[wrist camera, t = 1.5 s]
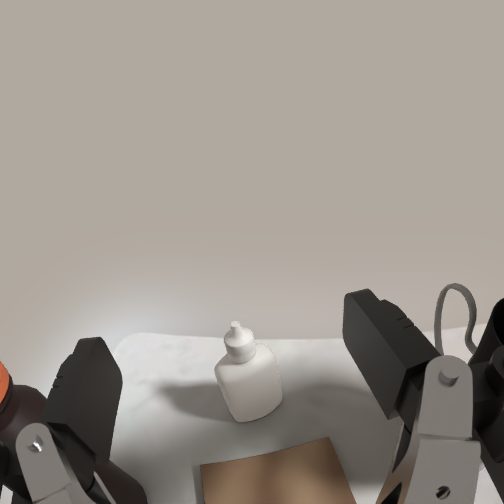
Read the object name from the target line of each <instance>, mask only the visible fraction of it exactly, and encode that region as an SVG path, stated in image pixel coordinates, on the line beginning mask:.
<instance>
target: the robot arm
mask: <svg viewBox="0 0 504 504" xmlns="http://www.w3.org/2000/svg"><path fill="white" fill-rule="evenodd" d="M343 339H344V342H345V345H346V347H347V349H348V351H349V353H350V354H351V356H352V358H353V359H354V361H355V363H356V365H357V366H358V368H359V370H360V371H361V373H362V375H363V377H364V378H365V380H366V382H367V384H368V385H369V387H370V389H371V391H372V392H373V394H374V396H375V398H376V400H377V401H378V403H379V405H380V407H381V408H382V410H383V412H384V414H385V416H386V417H387V419H388V420H390V419H392V418H394V417H397V416H399V415H400V417H401V418H402V420H403V423H402V426H401V430H400V435H399V439H398V442H397V446H396V450H395V454H394V457H393V461H392V464H391V467H390V471H389V474H388V477H387V479H386V481H385V483H384V485H383V487H382V489H381V492H380V494H379V496H378V499H377V501H376V504H474V499H475V493H476V487H477V480H478V473H479V465H480V458H481V460H482V462H483V464H484V466H485V467H486V469H487V471H488V473H489V475H490V477H491V479H492V481H493V483H494V485H495V487H496V489H497V491H498V493H499V495H500V497H501V499H502V502H503V504H504V411H503V410H504V345H503V346H500V347H498V348H497V349H496V350H495V351H494V353H493V355H492V357H491V359H490V361H486V362H482V363H476V364H471V365H467V364H466V363H465V362H464V361H463V360H461V359H460V358H457V357H454V356H448V355H445V356H442V355H441V354H440V353H439V352H438V351H437V350H436V348H435V347H434V346H433V345H432V344H431V343H430V342H429V340H428V339H427V338H426V337H425V336H424V335H423V334H422V332H421V331H420V330H419V329H418V328H417V327H416V326H414V323H413V322H412V321H411V320H410V319H409V318H407V316H406V315H405V314H404V312H403V311H402V310H401V309H400V308H399V307H398V306H396V305H394V304H392V303H391V302H389V301H387V300H381V301H380V300H379V299H378V298H377V297H376V296H375V295H374V294H373V293H372V291H371V290H369V289H363V290H359V291H356V292H351V293H347V294H346V295H345V298H344V315H343ZM56 377H57V379H55V381H54V383H53V388H51V391H50V393H49V395H48V398H47V401H46V403H45V406H44V409H43V411H42V414H41V417H40V420H39V422H38V423H32V424H30V425H27V426H26V427H25V428H23V429H22V430H21V432H20V433H19V435H18V437H17V439H16V440H13V441H7V442H1V441H0V496H1V491H2V486H3V485H4V486H6V487H7V488H8V489H10V490H11V491H13V496H12V502H11V504H116V502H115V501H114V500H113V498H112V497H111V495H110V493H109V492H108V490H107V489H106V487H105V486H104V484H103V482H102V481H101V479H100V478H99V476H98V474H97V473H96V472H95V471H94V470H95V464H101V465H108V464H109V457H110V450H111V444H112V438H113V432H114V426H115V420H116V415H117V410H118V405H119V400H120V395H121V390H122V383H123V382H122V375H121V371H120V369H119V367H118V365H117V364H116V362H115V360H114V358H113V356H112V354H111V353H110V351H109V349H108V347H107V345H106V343H105V341H104V340H103V339H102V338H101V337H93V338H84V339H80V340H79V341H78V343H77V345H76V347H75V349H74V352H73V354H71V355H69V356H68V358H67V359H66V360H65V361H64V362H63V364H61V366H60V369H59V371H58V373H57V376H56Z"/></svg>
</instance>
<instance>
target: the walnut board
mask: <svg viewBox="0 0 504 504" xmlns="http://www.w3.org/2000/svg"><path fill="white" fill-rule="evenodd" d="M200 467H201V476H202V485H203V493H204V501H205V504H356V502H355V499H354V497H353V494H352V492H351V489H350V487H349V485H348V482H347V480H346V477H345V475H344V472H343V470H342V468H341V465H340V463H339V460H338V458H337V455H336V453H335V451H334V448H333V446H332V443H331V441H330V438H329V437H326V438H323V439H320V440H316V441H313V442H310V443H306V444H303V445H299V446H296V447H292V448H288V449H284V450H280V451H276V452H272V453H268V454H263V455H258V456H253V457H248V458H243V459H238V460H232V461H225V462H219V463H212V464H204V465H200Z"/></svg>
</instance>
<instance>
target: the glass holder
mask: <svg viewBox="0 0 504 504" xmlns="http://www.w3.org/2000/svg"><path fill="white" fill-rule="evenodd" d="M451 288H452V289H455V290H458V291H459V292H461V293H462V295H463V296H464V297H465V299H466V301H467V304H468V307H469V312H470V314H469V324H468V328H467V331H466V334H465V343H466V346H467V348H468V349H469V351H470V352H471V353H472V354H473V356H472V357H471V358H470V360H469V362H468V364H467V365H471V364H476V363H482V362H486V361H490V359H491V357H492V355H493V353H494V351H495V350H496V349H497V348H498V347H500V346H503V345H504V298H503V299H501V300H500V301H499V302H497V304H496V305H495V306H494V308H493V311H492V313H491V316H490V319H489V321H488V324H487V326H486V329H485V331H484V334H483V336H482V338H481V341H480V343H479V345H478V348H477V347H476V346H475V345H474V343H473V342H472V338H471V337H472V332H473V328H474V326H475V322H476V311H477V310H476V304H475V301H474V298H473V296H472V294H471V293H470V291H469V290H468V289H467V288H466V287H464V286H463V285H460V284H456V283H454V284H450V285H447V286H446V287H445V288H444V289H443V290H442V291H441V293H440V295H439V298H438V301H437V306H436V311H435V322H434V336H435V348H436V350H437V351H438V352H439V353H440V354H441V355H442V356H444V353H443V348H442V340H441V313H442V308H443V302H444V298H445V295H446V293H447V291H448V290H449V289H451ZM503 411H504V410H503ZM484 467H485V466H484V464H483V462H482V460H481V458H480V465H479V471H480V470H482V469H483V468H484Z"/></svg>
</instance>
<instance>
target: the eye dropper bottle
mask: <svg viewBox="0 0 504 504" xmlns="http://www.w3.org/2000/svg"><path fill="white" fill-rule="evenodd" d="M224 343H225V346H226V349H227V353H228V354H226V355H225V356H224V357H223V358H222V359H221V360H220V361H219V362H218V363H217V365H216V366H215V369H214V371H215V375H216V378H217V381H218V384H219V386H220V389H221V392H222V394H223V397H224V399H225V402H226V404H227V406H228V409H229V411H230V413H231V414H232V416H233V418H234V419H235V420H236V421H237V422H248V421H253V420H256V419H259V418H261V417H264V416H265V415H267V414H269V413H270V412H272V411H273V410H274V409H275V408H276V407H277V406H278V405H279V404H280V403H281V401H282V398H283V396H282V389H281V382H280V375H279V369H278V363H277V358H276V355H275V353H274V352H273V351H272V349H271V348H270V347H269V346H267V345H266V344H255V341H254V336H253V333H252V332H251V331H250V330H249V329H247V328H244V327H241V325H240V323H239V322H238V321H234V322H232V323H231V330H230V331H228V332H227V333H226V335H225V336H224Z"/></svg>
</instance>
